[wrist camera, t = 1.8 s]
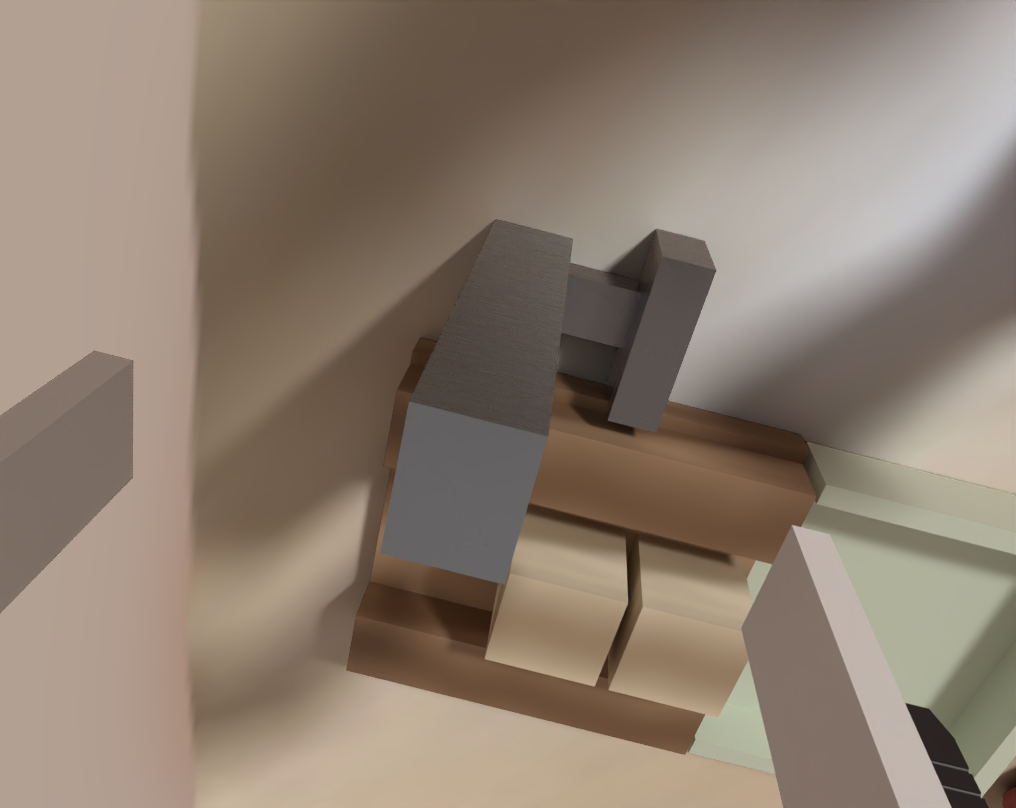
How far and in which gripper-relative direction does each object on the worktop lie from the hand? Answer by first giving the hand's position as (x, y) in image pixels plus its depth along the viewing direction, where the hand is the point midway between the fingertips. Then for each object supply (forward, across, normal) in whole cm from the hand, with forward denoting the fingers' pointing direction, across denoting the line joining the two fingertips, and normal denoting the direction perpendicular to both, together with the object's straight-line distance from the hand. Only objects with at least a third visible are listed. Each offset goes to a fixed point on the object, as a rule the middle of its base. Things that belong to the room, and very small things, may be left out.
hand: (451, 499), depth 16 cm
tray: (+13, +17, -10) cm, 23 cm away
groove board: (+13, +4, -10) cm, 16 cm away
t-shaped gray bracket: (+13, +2, 0) cm, 13 cm away
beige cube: (+12, +4, -10) cm, 15 cm away
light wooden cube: (+12, +9, -10) cm, 17 cm away
